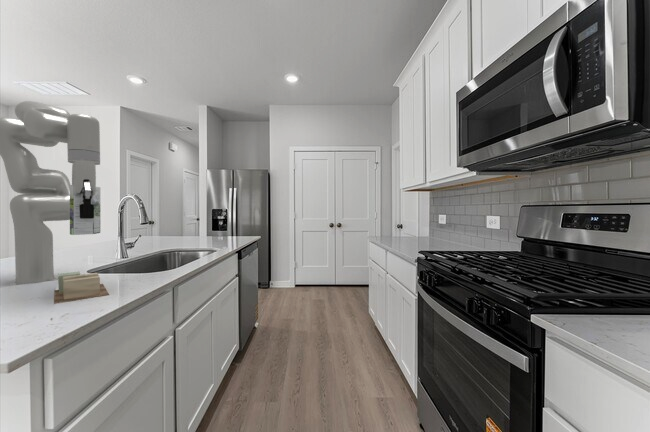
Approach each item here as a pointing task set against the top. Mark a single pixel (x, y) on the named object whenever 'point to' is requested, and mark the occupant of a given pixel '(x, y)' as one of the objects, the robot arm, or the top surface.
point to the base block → (81, 285)
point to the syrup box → (84, 225)
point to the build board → (60, 298)
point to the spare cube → (60, 279)
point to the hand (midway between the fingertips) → (85, 217)
